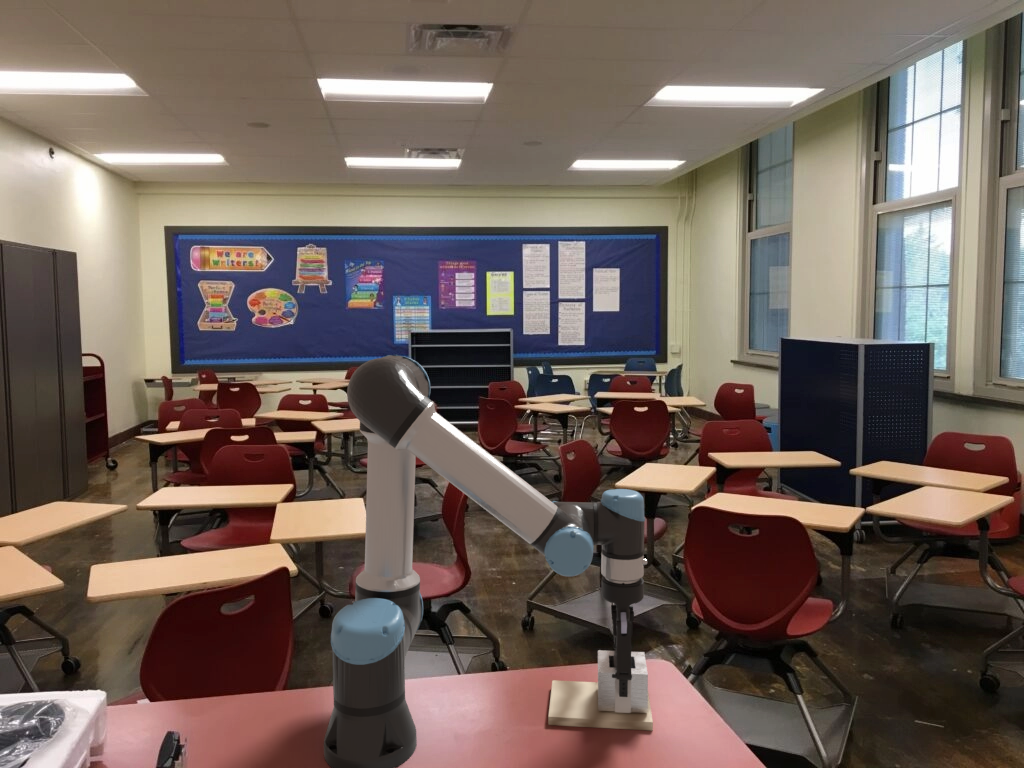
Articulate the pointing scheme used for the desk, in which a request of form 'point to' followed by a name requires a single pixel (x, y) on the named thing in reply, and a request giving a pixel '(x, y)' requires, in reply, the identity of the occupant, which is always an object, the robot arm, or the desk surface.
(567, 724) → the board
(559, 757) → the desk surface
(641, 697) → the gray cube
